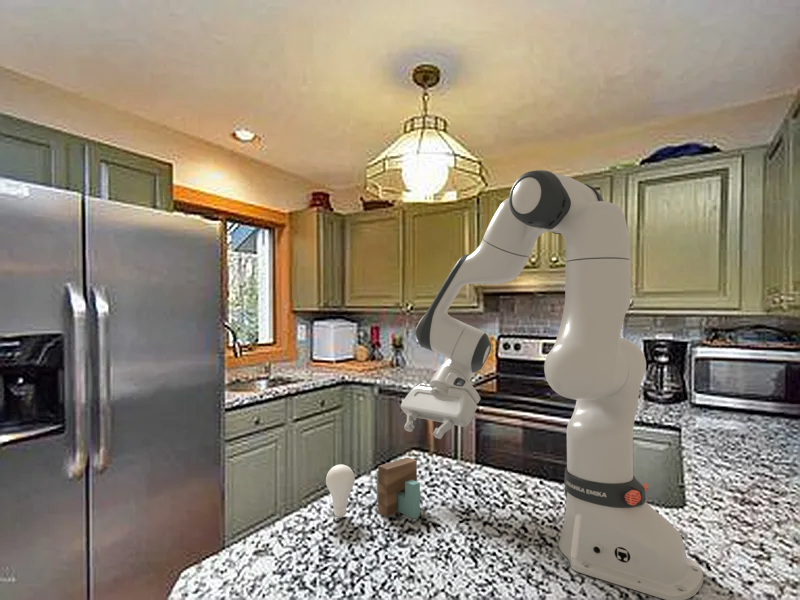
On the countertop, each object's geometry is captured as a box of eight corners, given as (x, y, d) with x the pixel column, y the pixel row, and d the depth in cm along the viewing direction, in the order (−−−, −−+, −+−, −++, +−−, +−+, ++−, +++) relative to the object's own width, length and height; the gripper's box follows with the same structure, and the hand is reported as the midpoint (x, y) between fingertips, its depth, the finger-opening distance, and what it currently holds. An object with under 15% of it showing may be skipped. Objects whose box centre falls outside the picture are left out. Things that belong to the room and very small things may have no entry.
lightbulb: (349, 525, 92) (349, 470, 93) (321, 522, 93) (321, 468, 94) (358, 512, 98) (358, 461, 99) (331, 510, 99) (331, 459, 100)
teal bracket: (419, 515, 97) (419, 482, 97) (413, 518, 95) (413, 484, 96) (383, 499, 105) (383, 469, 106) (376, 501, 104) (376, 470, 104)
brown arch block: (416, 504, 102) (416, 460, 103) (387, 516, 96) (387, 469, 97) (407, 500, 105) (407, 457, 105) (378, 512, 98) (378, 466, 99)
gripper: (412, 375, 119) (384, 418, 112) (474, 382, 104) (447, 432, 97) (423, 390, 122) (397, 433, 115) (486, 399, 107) (461, 449, 100)
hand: (421, 433), depth 106 cm, fingers open, 8 cm apart
